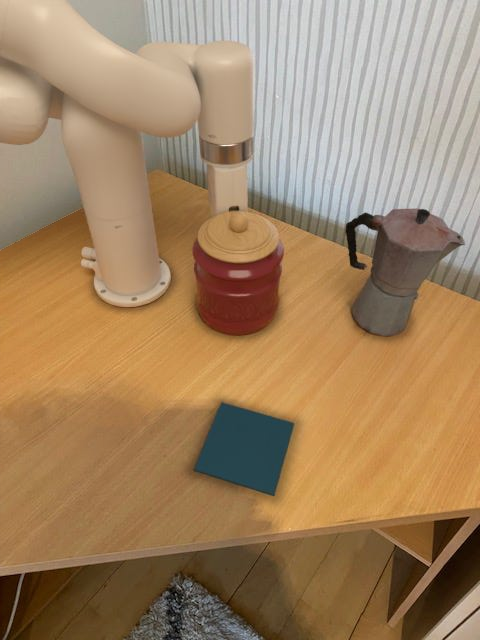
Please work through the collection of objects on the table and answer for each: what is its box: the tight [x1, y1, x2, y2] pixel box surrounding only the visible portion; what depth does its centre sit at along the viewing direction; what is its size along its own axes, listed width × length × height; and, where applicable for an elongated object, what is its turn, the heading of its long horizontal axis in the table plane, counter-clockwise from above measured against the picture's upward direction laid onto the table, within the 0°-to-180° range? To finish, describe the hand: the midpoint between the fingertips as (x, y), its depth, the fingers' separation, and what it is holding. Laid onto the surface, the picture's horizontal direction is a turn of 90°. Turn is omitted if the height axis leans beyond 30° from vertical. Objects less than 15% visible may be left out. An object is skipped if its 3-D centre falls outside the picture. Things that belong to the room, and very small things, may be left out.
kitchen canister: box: [192, 211, 285, 336], centre depth 69 cm, size 13×13×18 cm
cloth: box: [193, 401, 295, 497], centre depth 59 cm, size 10×10×1 cm
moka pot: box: [345, 208, 466, 337], centre depth 68 cm, size 10×15×20 cm, turn 78°
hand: (230, 249), depth 79 cm, fingers closed
